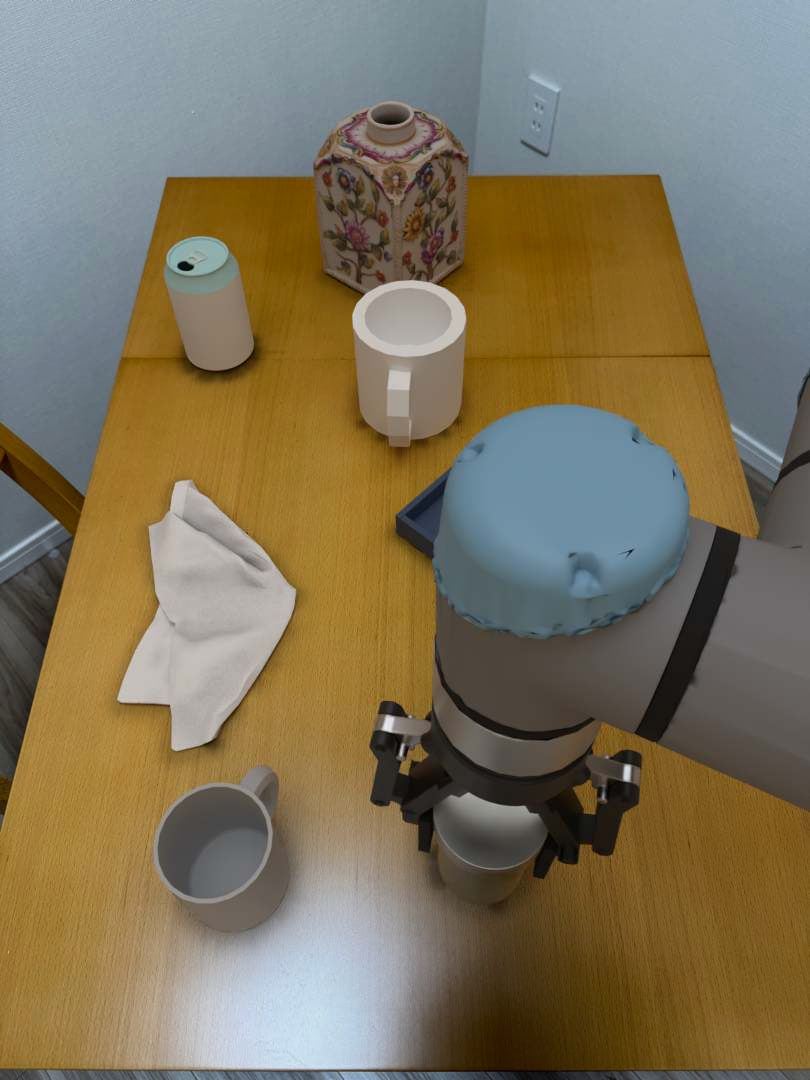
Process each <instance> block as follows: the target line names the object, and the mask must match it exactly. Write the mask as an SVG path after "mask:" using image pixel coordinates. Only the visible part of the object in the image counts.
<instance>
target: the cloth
mask: <svg viewBox="0 0 810 1080" xmlns="http://www.w3.org/2000/svg"><path fill="white" fill-rule="evenodd" d="M148 535H149V543H150V544H149V547H150V557H151V564H152V571H153V580H154V592H155V593H154V594H155V595H156V597H157V600H158V601H159V604H158V608H157V610H156V612H155V615H154V619H153V620H152V622H151V623H150V625H149V626H148V628H147V629H146V631H145V633H144V634H143V636H142V637H141V640H140V642H139V643H138V645H137V647H136V649H135V651H134V653H133V656H132V658H131V660H130V662H129V665H128V667H127V669H126V672H125V674H124V676H123V680H122V683H121V685H120V688H119V692H118V695H117V699H116V700H117V701H118V702H119V703H120V704H140V705H141V704H144V705H145V704H149V705H164V706H170V714H171V749H170V750H172V751H174V752H176V753H177V752H181V751H186V750H189V749H190V750H191V749H194V748H198V747H201V746H203V745H205V744H207V743H209V742H211V741H213V740H214V739H216V738H217V737H218V735H219V733H220V731H221V730H222V729H221V728H222V726H223V725H224V722H225V721H226V720H227V719H228V718H229V717H230V715H231V714H232V713H233V712H234V711H235V709H236V708H238V706H239V705H240V703H241V702H242V700H243V699H244V698H245V696H246V694H247V693H248V692H249V690H250V689H251V687H252V685H253V684H254V682H255V681H256V680H257V678H258V677H259V675H260V674H261V672H262V670H263V669H264V666H265V665H266V664H267V662H268V660H269V658H270V657H271V655H272V653H273V651H274V650H275V648H276V646H277V645H278V643H279V642H280V640H281V638H282V636H283V634H284V633H285V630H286V628H287V626H288V624H289V622H290V620H291V618H292V615H293V612H294V610H295V605H296V597H297V588H295V587H293V585H291V584H290V583H289V582H288V581H287V579H286V578H285V576H284V575H283V574H282V573H281V571H280V570H279V568H278V567H277V566H276V565H275V563H274V562H273V560H272V559H271V557H270V556H269V554H268V553H266V550H264V548H263V547H262V546H261V545H260V544H258V543H257V542H256V541H255V540H254V539H253V538H252V537H251V536H249V534H248V533H246V532H245V531H244V530H243V529H242V528H241V527H240V526H238V525H237V524H236V523H235V522H234V521H233V520H232V519H231V518H229V516H228V515H226V514H225V513H224V512H223V511H222V510H221V509H220V508H219V507H218V506H217V505H216V504H215V503H214V501H212V500H211V499H210V498H209V497H208V496H206V495H205V494H203V493H201V492H200V491H199V490H198V488H197V486H196V484H195V483H194V481H193V479H184V480H183V479H182V480H179V481H176V482H175V483H174V487H173V490H172V493H171V500H170V507H169V510H167V512H166V514H165V515H164V517H163V518H162V520H161V521H159V522H156V523H153V524H151V525H148Z"/></svg>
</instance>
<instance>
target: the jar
mask: <svg viewBox="0 0 810 1080" xmlns="http://www.w3.org/2000/svg"><path fill="white" fill-rule="evenodd" d="M437 845H438V847H437V866H438V871H439V874H440V877H441V879H442V881H443V883H444V884H445V886H446V887H447V888H448V890H449V891H450V892H451V893H452V894H453V895H454V896H456V897H457V898H459V899H460V900H462V901H464V902H466V903H468V904H473V905H477V906H487V905H493V904H497V903H499V902H501V901H503V900H505V899H507V898H508V897H509V896H510V895H511V894H513V892H514V891H515V890H516V889H517V888H518V886H519V884H520V882H521V880H522V877H523V875H524V872H525V870H526V868H524V869H523V870H521V871H519V872H517V873H515V874H513V875H510V876H506V877H500V878H486V877H480V876H477V875H474V874H471V873H469V872H467V871H465V870H463V869H461V868H460V867H458V866H457V865H456V864H454V863H453V862H452V861H451V860H450V859H449V858H448V857H447V856H446V854H445V853H444V852H443V850H442V849H441V847H440V845H439V843H438V844H437Z"/></svg>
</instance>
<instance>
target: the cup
mask: <svg viewBox="0 0 810 1080" xmlns="http://www.w3.org/2000/svg"><path fill="white" fill-rule="evenodd" d="M279 781H280V780H279V777H278V774H277V773H276V772H275V771H274V770H273V769H272V768H271V767H270V766H269V765H256V766H252V767H251V768H250V769H249V770H248V771H247V772H246V773H245V774H244V775H243V777H242V778H241V780H240V781H239V783H238V784H235V783H230V782H211V783H206V784H202V785H198V786H196V787H194V788H193V789H191V790H189V791H187V792H185V793H183V794H181V796H180V797H178V799H176V800H175V801H174V802H173V803H172V804H171V805H170V806H169V808H168V809H167V810H166V812H165V813H164V815H162V817H161V819H160V821H159V824H158V826H157V828H156V831H155V835H154V840H153V846H152V854H153V863H154V864H153V865H154V867H155V870H156V872H157V875H158V877H159V879H160V881H162V883H163V884H164V886H165V887H166V888H167V889H168V890H169V892H170V893H171V894H172V895H173V896H175V898H176V899H177V900H178V901H179V902H180V903H181V904H182V905H183V906H184V908H186V909H187V910H188V911H189V912H190V913H191V914H192V915H193V916H194V917H195V919H197V920H199V922H202V923H203V924H204V925H206V926H207V927H209V928H211V929H213V930H217V931H220V932H224V933H239V932H243V931H247V930H250V929H253V928H254V927H256V926H258V925H259V924H262V923H263V922H265V921H266V920H267V919H269V917H270V916H271V915H272V914H273V913H274V912H275V911H276V910H277V908H278V907H279V905H280V903H281V902H282V900H283V899H284V897H285V895H286V891H287V888H288V884H289V877H290V867H289V861H288V856H287V851H286V849H285V847H284V845H283V843H282V840H281V838H280V836H279V834H278V832H277V829H276V827H275V825H274V822H273V821H272V819H273V817H274V815H275V812H276V809H277V805H278V801H279V794H280V782H279Z"/></svg>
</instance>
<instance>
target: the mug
mask: <svg viewBox="0 0 810 1080" xmlns="http://www.w3.org/2000/svg"><path fill="white" fill-rule="evenodd" d="M466 315H467V314H466V309H465V306H464V305H463V303H462V302H461V301H460V298H458V297H457V295H455V294H454V293H453V292H451V291H449V290H448V289H447V288H445V287H444V286H443V287H442V286H440V285H438V284H432V283H429V282H422V281H415V280H408V281H395V282H392V283H388V284H384V285H381V286H379V287H377V288H375V289H373V290H371V291H370V292H368V293H366V294H365V295H364V294H363V296H362V297H361V298H360V299H359V300H358V301H357V303H356V305H355V307H354V309H353V312H352V314H351V316H352V317H351V319H352V330H353V344H354V354H355V355H354V356H355V367H356V368H355V369H356V380H357V389H358V390H357V393H358V405H359V412H360V414H361V416H362V418H363V420H364V422H365V423H366V424H368V426H370V427H371V428H372V429H373V430H374V431H375V432H377V433H380V434H382V435H383V436H386V437H387V439H388V446H389V447H399V448H401V447H402V448H410V447H411V441H412V440H424V439H426V438H430V437H433V436H435V435H439V434H440V433H442V432H443V431H445V430H446V429H447V428H449V427H450V426H451V425H453V423H454V422H455V420H456V419H457V418H458V417H459V414H460V410H461V407H462V401H463V384H464V383H463V382H464V369H465V368H464V366H465V352H466V351H465V349H466V334H467V332H466V331H467V316H466Z"/></svg>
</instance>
